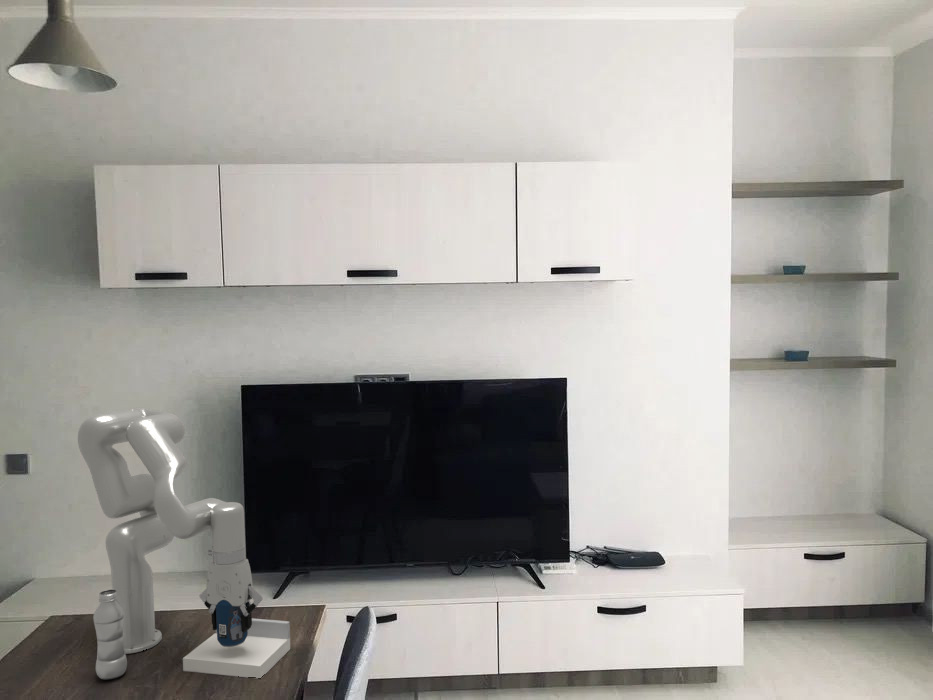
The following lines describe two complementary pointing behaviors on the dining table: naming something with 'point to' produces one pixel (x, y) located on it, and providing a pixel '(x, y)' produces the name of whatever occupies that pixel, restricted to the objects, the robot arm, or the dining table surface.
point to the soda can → (229, 624)
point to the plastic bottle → (109, 636)
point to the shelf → (243, 651)
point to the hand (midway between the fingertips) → (232, 628)
